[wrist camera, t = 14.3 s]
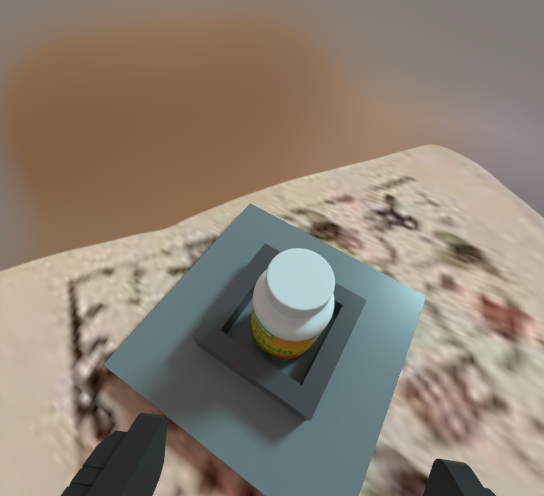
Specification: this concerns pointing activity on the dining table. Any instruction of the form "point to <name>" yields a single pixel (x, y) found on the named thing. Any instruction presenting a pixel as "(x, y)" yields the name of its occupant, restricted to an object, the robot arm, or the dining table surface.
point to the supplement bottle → (292, 304)
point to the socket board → (274, 364)
